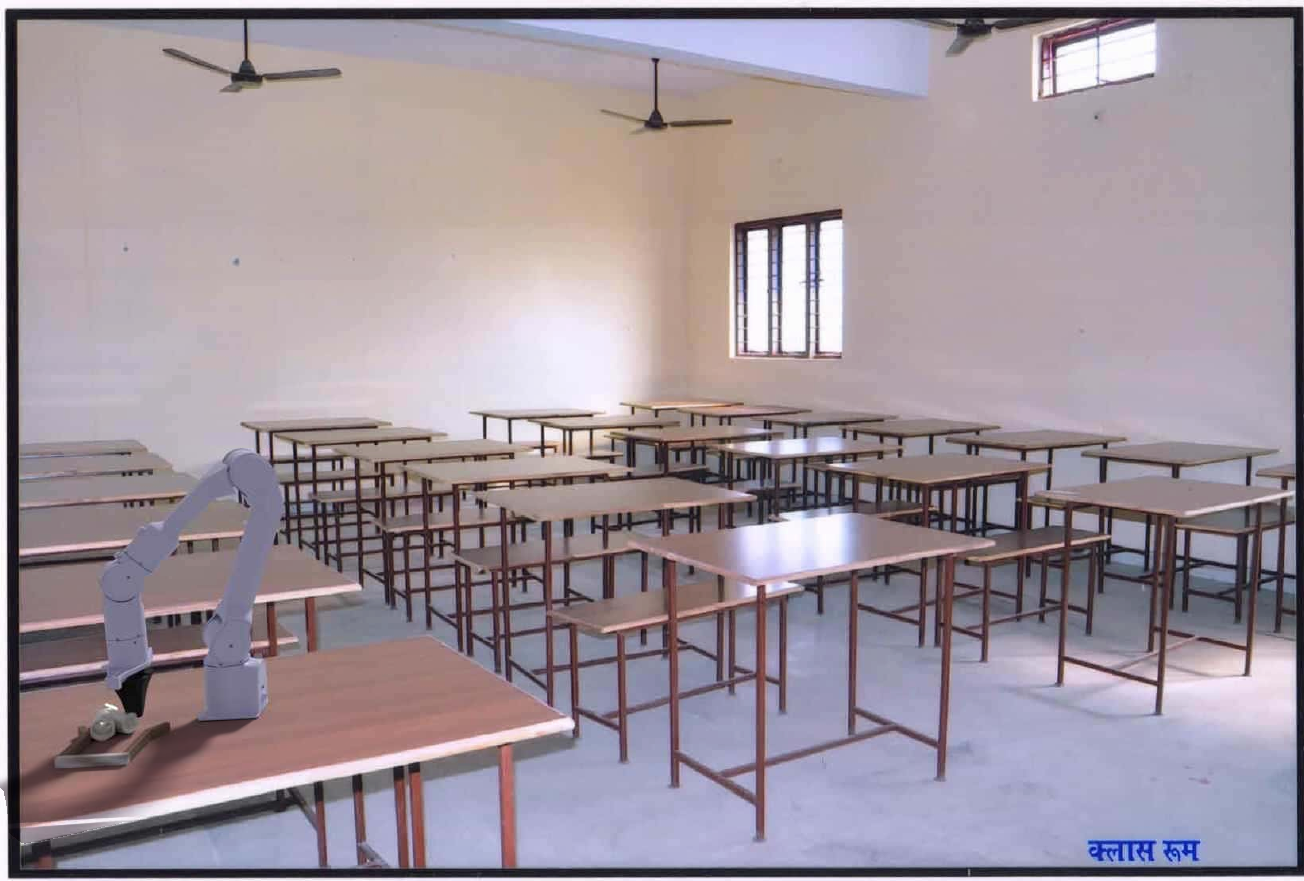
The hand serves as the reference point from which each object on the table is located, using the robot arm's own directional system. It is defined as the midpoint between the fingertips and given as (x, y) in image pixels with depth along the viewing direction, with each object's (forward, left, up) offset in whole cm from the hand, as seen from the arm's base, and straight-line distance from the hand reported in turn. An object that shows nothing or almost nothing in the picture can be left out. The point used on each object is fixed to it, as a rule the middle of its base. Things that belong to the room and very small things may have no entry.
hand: (134, 717), depth 163 cm
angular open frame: (+1, +9, -2) cm, 9 cm away
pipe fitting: (0, -1, -1) cm, 2 cm away
